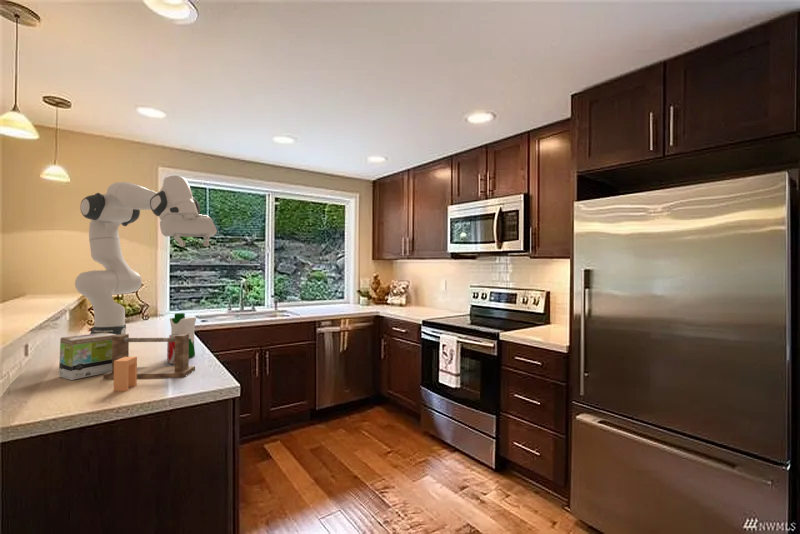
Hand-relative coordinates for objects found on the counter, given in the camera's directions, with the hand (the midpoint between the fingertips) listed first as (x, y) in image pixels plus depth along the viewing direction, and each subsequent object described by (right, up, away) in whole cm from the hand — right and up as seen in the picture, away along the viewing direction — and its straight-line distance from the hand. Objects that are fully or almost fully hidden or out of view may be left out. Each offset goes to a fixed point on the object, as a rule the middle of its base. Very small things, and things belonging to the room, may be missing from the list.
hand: (195, 246), depth 149 cm
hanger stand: (-17, -49, 0) cm, 52 cm away
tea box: (-40, -49, -1) cm, 63 cm away
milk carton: (-20, -49, +27) cm, 60 cm away
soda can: (-17, -49, +17) cm, 55 cm away
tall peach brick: (-15, -49, -17) cm, 54 cm away
